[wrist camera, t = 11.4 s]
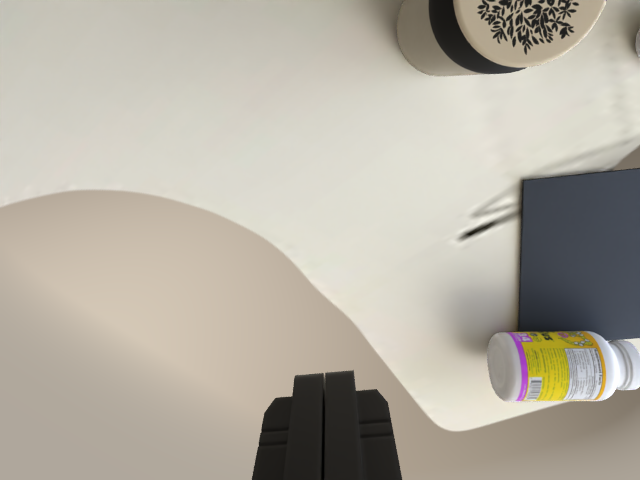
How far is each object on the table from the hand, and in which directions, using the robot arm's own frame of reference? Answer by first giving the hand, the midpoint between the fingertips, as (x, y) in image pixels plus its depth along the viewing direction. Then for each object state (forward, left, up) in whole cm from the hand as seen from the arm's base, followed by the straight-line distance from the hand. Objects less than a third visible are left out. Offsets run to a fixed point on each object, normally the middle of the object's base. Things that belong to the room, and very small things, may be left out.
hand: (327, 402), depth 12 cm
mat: (+12, +25, -33) cm, 43 cm away
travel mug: (-11, +11, -33) cm, 37 cm away
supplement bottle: (+21, +14, -29) cm, 39 cm away
